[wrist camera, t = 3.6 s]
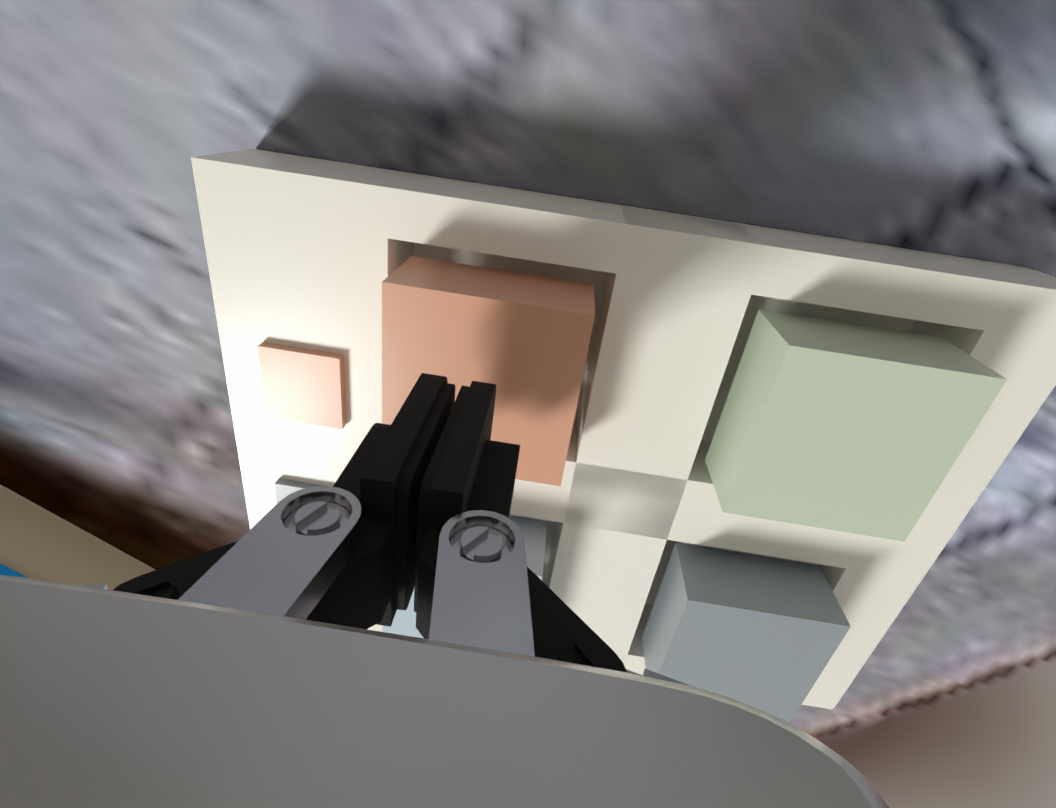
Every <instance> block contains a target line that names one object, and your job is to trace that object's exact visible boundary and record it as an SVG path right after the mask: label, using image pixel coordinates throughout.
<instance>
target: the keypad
mask: <svg viewBox="0 0 1056 808" xmlns="http://www.w3.org/2000/svg"><path fill="white" fill-rule="evenodd" d="M191 161H192V168H193V174H194V180H195V186H196V193H197V199H198V205H199V211H200V218H201V224H202V230H203V236H204V243H205V249H206V255H207V262H208V268H209V274H210V280H211V287H212V293H213V299H214V305H215V312H216V318H217V324H218V331H219V337H220V343H221V349H222V356H223V362H224V368H225V374H226V381H227V387H228V393H229V399H230V406H231V412H232V418H233V425H234V431H235V437H236V443H237V450H238V456H239V462H240V468H241V475H242V481H243V487H244V494H245V500H246V506H247V512H248V519H249V525H250V530H251V529H252V528H253V527H254V526H255V525H256V524H257V523H258V522H259V521H260V520H261V519H262V518H263V517H264V516H265V515H266V514H267V513H268V512H269V511H270V510H271V509H272V508H273V507H274V506H275V505H276V504H277V503H278V502H280V501H281V500H282V499H284V498H285V497H286V496H288V495H289V494H292V493H294V492H296V491H299V490H301V489H305V488H310V487H315V486H331V487H333V485H334V484H335V482H336V481H337V479H338V478H339V476H340V475H341V473H342V472H343V470H344V469H345V467H346V466H347V464H348V462H349V461H350V459H351V458H352V456H353V455H354V453H355V452H356V450H357V449H358V447H359V446H360V444H361V442H362V441H363V439H364V438H365V436H366V435H367V433H368V432H369V430H370V429H371V427H372V426H373V425H374V424H375V423H382V281H383V280H385V279H386V278H387V277H388V276H389V275H390V274H391V273H393V272H394V271H395V270H396V269H397V268H398V267H399V266H401V265H402V264H403V263H404V262H405V261H406V260H407V259H409V258H410V257H411V256H415V257H422V258H428V259H435V260H441V261H448V262H454V263H461V264H467V265H473V266H480V267H486V268H493V269H499V270H506V271H512V272H519V273H525V274H532V275H538V276H544V277H551V278H557V279H564V280H570V281H577V282H583V283H590V284H593V286H594V303H595V319H594V324H593V329H592V333H591V338H590V343H589V348H588V353H587V358H586V363H585V368H584V373H583V378H582V383H581V388H580V393H579V398H578V403H577V408H576V413H575V418H574V423H573V428H572V433H571V438H570V443H569V448H568V453H567V457H566V462H565V467H564V472H563V477H562V482H561V486H555V485H549V484H543V483H536V482H530V481H524V480H518V479H515V485H514V491H513V498H512V504H511V510H510V516H514V517H520V518H526V519H532V520H539V521H545V522H547V530H546V542H545V553H544V565H543V576H542V581H543V582H544V583H545V584H546V585H547V586H548V587H549V588H550V589H551V590H552V591H553V592H554V593H555V594H556V595H557V596H558V597H559V598H560V599H561V600H562V601H563V602H564V603H565V604H566V605H567V606H568V607H569V608H570V609H571V610H572V611H573V612H574V613H575V614H576V615H577V616H579V617H580V618H581V619H582V620H583V621H584V622H585V623H586V624H587V625H588V626H589V627H590V628H591V629H592V630H593V631H594V632H595V633H596V634H597V635H598V636H599V637H600V638H601V639H602V640H603V641H604V642H605V643H606V644H607V645H608V646H609V647H610V648H611V649H612V650H613V651H614V652H615V653H616V654H617V656H618V657H619V658H620V660H621V661H622V662H623V664H624V666H625V669H627V670H630V671H633V672H635V673H638V674H641V675H642V674H643V671H644V669H646V667H645V658H644V649H643V641H642V636H643V633H644V630H645V628H646V625H647V622H648V619H649V616H650V614H651V611H652V608H653V605H654V602H655V599H656V597H657V594H658V591H659V588H660V585H661V583H662V580H663V577H664V574H665V571H666V569H667V566H668V563H669V560H670V557H671V554H672V552H673V549H674V546H675V543H681V544H687V545H693V546H700V547H706V548H712V549H718V550H724V551H731V552H737V553H743V554H749V555H755V556H762V557H768V558H774V559H780V560H786V561H793V562H799V563H805V564H811V565H817V566H820V568H821V570H822V572H823V574H824V576H825V577H826V579H827V581H828V583H829V585H830V587H831V589H832V591H833V593H834V595H835V597H836V599H837V601H838V603H839V605H840V607H841V609H842V610H843V612H844V614H845V616H846V618H847V620H848V622H849V624H850V626H851V627H850V629H849V630H848V632H847V633H846V635H845V637H844V638H843V640H842V641H841V643H840V644H839V646H838V648H837V649H836V651H835V652H834V654H833V656H832V657H831V659H830V660H829V662H828V663H827V665H826V667H825V668H824V670H823V671H822V673H821V674H820V676H819V678H818V679H817V681H816V682H815V684H814V686H813V687H812V689H811V690H810V692H809V693H808V695H807V697H806V698H805V700H804V701H803V703H802V705H808V706H814V707H821V708H827V709H834V707H835V706H836V704H837V703H838V701H839V700H840V698H841V697H842V696H843V694H844V693H845V691H846V690H847V688H848V687H849V685H850V684H851V682H852V681H853V680H854V678H855V677H856V675H857V674H858V672H859V671H860V669H861V668H862V666H863V665H864V663H865V662H866V661H867V659H868V658H869V656H870V655H871V653H872V652H873V650H874V649H875V647H876V646H877V645H878V643H879V642H880V640H881V639H882V637H883V636H884V634H885V633H886V631H887V630H888V628H889V627H890V626H891V624H892V623H893V621H894V620H895V618H896V617H897V615H898V614H899V612H900V611H901V610H902V608H903V607H904V605H905V604H906V602H907V601H908V599H909V598H910V596H911V595H912V593H913V592H914V591H915V589H916V588H917V586H918V585H919V583H920V582H921V580H922V579H923V577H924V576H925V575H926V573H927V572H928V570H929V569H930V567H931V566H932V564H933V563H934V561H935V560H936V558H937V557H938V556H939V554H940V553H941V551H942V550H943V548H944V547H945V545H946V544H947V542H948V541H949V540H950V538H951V537H952V535H953V534H954V532H955V531H956V529H957V528H958V526H959V525H960V523H961V522H962V521H963V519H964V518H965V516H966V515H967V513H968V512H969V510H970V509H971V507H972V506H973V505H974V503H975V502H976V500H977V499H978V497H979V496H980V494H981V493H982V491H983V490H984V488H985V487H986V486H987V484H988V483H989V481H990V480H991V478H992V477H993V475H994V474H995V472H996V471H997V470H998V468H999V467H1000V465H1001V464H1002V462H1003V461H1004V459H1005V458H1006V456H1007V455H1008V453H1009V452H1010V451H1011V449H1012V448H1013V446H1014V445H1015V443H1016V442H1017V440H1018V439H1019V437H1020V436H1021V435H1022V433H1023V432H1024V430H1025V429H1026V427H1027V426H1028V424H1029V423H1030V421H1031V420H1032V418H1033V417H1034V416H1035V414H1036V413H1037V411H1038V410H1039V408H1040V407H1041V405H1042V404H1043V402H1044V401H1045V400H1046V398H1047V397H1048V395H1049V394H1050V392H1051V391H1052V389H1053V388H1054V386H1055V385H1056V277H1053V276H1050V275H1047V274H1045V273H1042V272H1039V271H1036V270H1034V269H1031V268H1028V267H1024V266H1017V265H1011V264H1004V263H997V262H991V261H984V260H978V259H971V258H965V257H958V256H952V255H945V254H939V253H932V252H925V251H919V250H912V249H906V248H899V247H893V246H886V245H880V244H873V243H867V242H860V241H853V240H847V239H840V238H834V237H827V236H821V235H814V234H808V233H801V232H795V231H788V230H781V229H775V228H768V227H762V226H755V225H749V224H742V223H736V222H729V221H723V220H716V219H709V218H703V217H696V216H690V215H683V214H677V213H670V212H664V211H657V210H651V209H644V208H637V207H631V206H624V205H618V204H611V203H605V202H598V201H592V200H585V199H579V198H572V197H565V196H559V195H552V194H546V193H539V192H533V191H526V190H520V189H513V188H507V187H500V186H494V185H487V184H480V183H474V182H467V181H461V180H454V179H448V178H441V177H435V176H428V175H422V174H415V173H408V172H402V171H395V170H389V169H382V168H376V167H369V166H363V165H356V164H350V163H343V162H336V161H330V160H323V159H317V158H310V157H304V156H297V155H291V154H284V153H278V152H271V151H264V150H258V149H250V150H243V151H235V152H227V153H220V154H212V155H204V156H197V157H191ZM758 310H764V311H770V312H777V313H783V314H790V315H796V316H803V317H809V318H816V319H822V320H828V321H835V322H841V323H848V324H854V325H861V326H867V327H874V328H880V329H887V330H893V331H899V332H906V333H912V334H919V335H925V336H932V337H938V338H944V339H945V340H947V341H949V342H950V343H952V344H953V345H955V346H956V347H958V348H959V349H961V350H963V351H964V352H966V353H967V354H969V355H970V356H972V357H973V358H975V359H976V360H978V361H980V362H981V363H983V364H984V365H986V366H987V367H989V368H990V369H992V370H994V371H995V372H997V373H998V374H1000V375H1001V376H1003V377H1004V378H1006V379H1007V381H1006V382H1005V384H1004V385H1003V387H1002V388H1001V390H1000V392H999V393H998V395H997V396H996V398H995V400H994V401H993V403H992V404H991V406H990V407H989V409H988V411H987V412H986V414H985V415H984V417H983V419H982V420H981V422H980V423H979V425H978V426H977V428H976V430H975V431H974V433H973V434H972V436H971V437H970V439H969V441H968V442H967V444H966V445H965V447H964V449H963V450H962V452H961V453H960V455H959V456H958V458H957V460H956V461H955V463H954V464H953V466H952V467H951V469H950V471H949V472H948V474H947V475H946V477H945V479H944V480H943V482H942V483H941V485H940V486H939V488H938V490H937V491H936V493H935V494H934V496H933V498H932V499H931V501H930V502H929V504H928V505H927V507H926V509H925V510H924V512H923V513H922V515H921V516H920V518H919V520H918V521H917V523H916V524H915V526H914V528H913V529H912V531H911V532H910V534H909V535H908V537H907V539H906V540H905V542H904V541H898V540H892V539H886V538H879V537H873V536H867V535H861V534H854V533H848V532H842V531H836V530H830V529H823V528H817V527H811V526H805V525H798V524H792V523H786V522H780V521H773V520H767V519H761V518H755V517H748V516H742V515H736V514H730V513H724V512H723V511H722V509H721V506H720V503H719V500H718V497H717V494H716V491H715V488H714V485H713V482H712V479H711V477H710V474H709V471H708V468H707V465H706V462H705V459H706V456H707V453H708V450H709V448H710V445H711V442H712V439H713V436H714V433H715V431H716V428H717V425H718V422H719V419H720V417H721V414H722V411H723V408H724V405H725V403H726V400H727V397H728V394H729V391H730V388H731V386H732V383H733V380H734V377H735V374H736V372H737V369H738V366H739V363H740V360H741V357H742V355H743V352H744V349H745V346H746V343H747V341H748V338H749V335H750V332H751V329H752V327H753V324H754V321H755V318H756V315H757V312H758ZM367 630H374V631H380V632H382V625H377V624H376V625H374V626H372V627H370V628H368V629H367Z"/></svg>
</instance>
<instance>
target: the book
mask: <svg viewBox="0 0 1056 808" xmlns="http://www.w3.org/2000/svg"><path fill="white" fill-rule="evenodd" d="M154 570H155V569H153V568H152V567H150V566H148V565H146V564H144V563H142V562H141V561H139V560H137V559H135V558H133V557H132V556H130V555H128V554H126V553H124V552H122V551H121V550H119V549H117V548H115V547H113V546H112V545H110V544H108V543H106V542H104V541H102V540H101V539H99V538H97V537H95V536H93V535H91V534H90V533H88V532H86V531H84V530H82V529H81V528H79V527H77V526H75V525H73V524H71V523H70V522H68V521H66V520H64V519H62V518H61V517H59V516H57V515H55V514H53V513H51V512H50V511H48V510H46V509H44V508H42V507H40V506H39V505H37V504H35V503H33V502H31V501H30V500H28V499H26V498H24V497H22V496H20V495H19V494H17V493H15V492H13V491H11V490H9V489H8V488H6V487H4V486H2V485H0V575H6V576H15V577H24V578H31V579H38V580H45V581H52V582H59V583H66V584H73V585H84V584H107V587H108V590H113V589H114V588H116V587H117V586H119V585H120V584H122V583H124V582H126V581H129V580H131V579H133V578H135V577H138V576H140V575H143V574H146V573H149V572H152V571H154Z"/></svg>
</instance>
